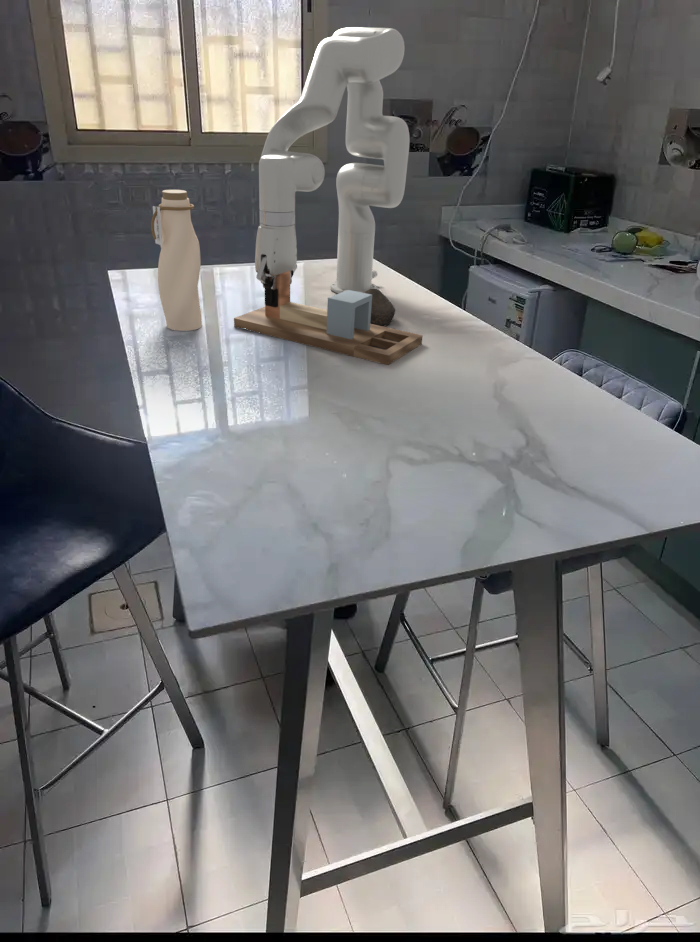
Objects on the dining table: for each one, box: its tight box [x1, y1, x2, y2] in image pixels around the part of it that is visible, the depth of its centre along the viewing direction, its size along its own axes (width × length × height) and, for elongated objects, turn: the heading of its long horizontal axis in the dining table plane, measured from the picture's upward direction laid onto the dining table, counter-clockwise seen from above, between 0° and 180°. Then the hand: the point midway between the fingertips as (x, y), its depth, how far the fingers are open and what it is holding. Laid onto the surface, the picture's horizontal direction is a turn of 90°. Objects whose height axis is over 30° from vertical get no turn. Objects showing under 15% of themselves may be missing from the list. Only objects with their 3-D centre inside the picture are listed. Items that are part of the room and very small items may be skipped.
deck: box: [233, 306, 423, 366], centre depth 151 cm, size 16×39×2 cm, turn 60°
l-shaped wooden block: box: [264, 271, 327, 330], centre depth 151 cm, size 4×18×10 cm, turn 60°
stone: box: [363, 288, 396, 327], centre depth 162 cm, size 10×8×10 cm
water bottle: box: [150, 189, 203, 332], centre depth 145 cm, size 10×9×28 cm
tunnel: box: [326, 290, 372, 339], centre depth 146 cm, size 8×6×8 cm
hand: (277, 302), depth 155 cm, fingers closed on l-shaped wooden block, 4 cm apart
